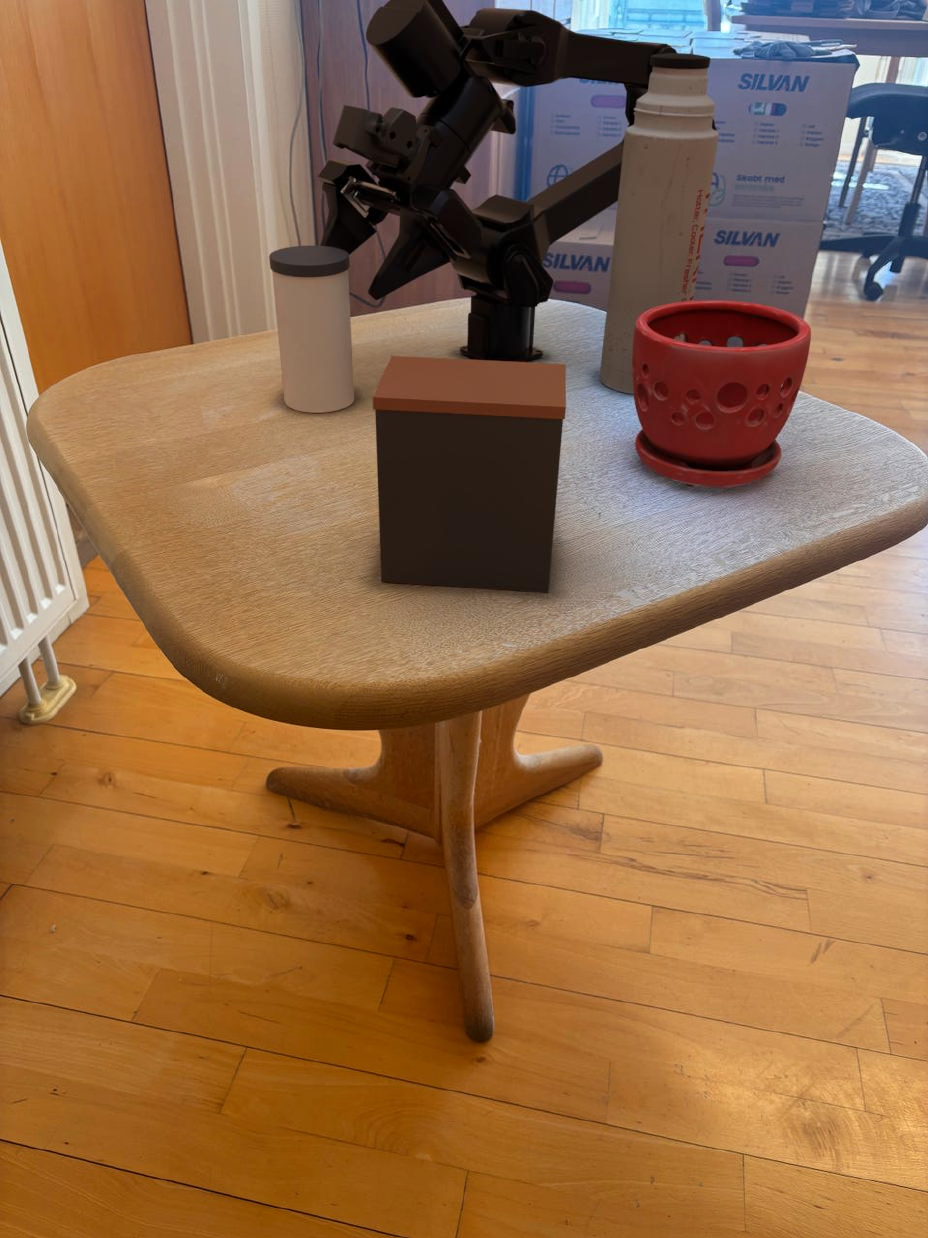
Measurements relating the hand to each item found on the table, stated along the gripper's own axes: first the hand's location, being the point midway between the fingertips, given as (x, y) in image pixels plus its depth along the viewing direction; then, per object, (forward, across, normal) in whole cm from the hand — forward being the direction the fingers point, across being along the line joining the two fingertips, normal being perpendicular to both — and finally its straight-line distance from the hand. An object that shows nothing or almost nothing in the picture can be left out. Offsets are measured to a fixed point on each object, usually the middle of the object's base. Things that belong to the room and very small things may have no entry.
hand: (343, 284), depth 84 cm
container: (+9, 0, +5) cm, 11 cm away
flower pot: (-4, +30, +18) cm, 35 cm away
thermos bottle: (-11, +14, +25) cm, 31 cm away
